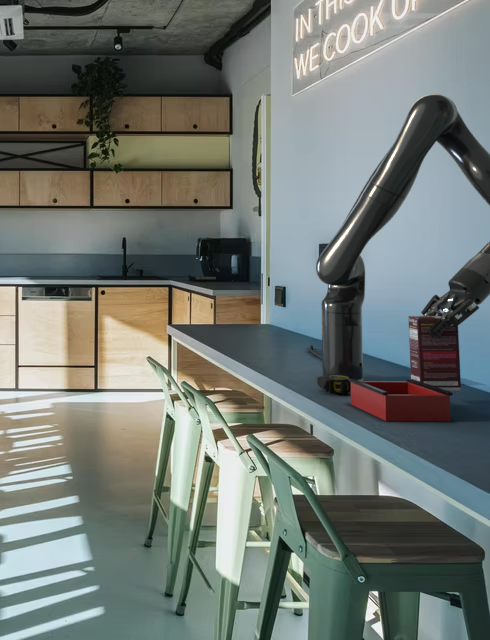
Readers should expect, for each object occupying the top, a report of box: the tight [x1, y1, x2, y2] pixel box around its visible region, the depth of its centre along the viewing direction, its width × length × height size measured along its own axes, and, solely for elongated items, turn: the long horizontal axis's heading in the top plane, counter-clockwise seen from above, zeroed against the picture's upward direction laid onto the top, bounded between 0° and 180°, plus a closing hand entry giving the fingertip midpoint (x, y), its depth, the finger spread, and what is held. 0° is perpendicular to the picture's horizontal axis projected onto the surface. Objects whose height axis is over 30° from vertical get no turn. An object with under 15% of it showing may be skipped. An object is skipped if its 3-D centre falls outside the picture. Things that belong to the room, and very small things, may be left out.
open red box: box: [348, 378, 454, 422], centre depth 149 cm, size 15×14×6 cm
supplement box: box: [408, 315, 462, 392], centre depth 159 cm, size 9×5×16 cm, turn 85°
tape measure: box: [316, 375, 351, 395], centre depth 169 cm, size 7×7×4 cm
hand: (424, 333), depth 160 cm, fingers closed on supplement box, 5 cm apart
